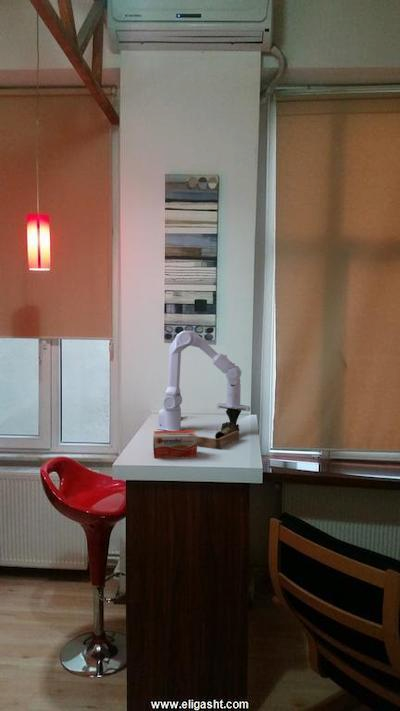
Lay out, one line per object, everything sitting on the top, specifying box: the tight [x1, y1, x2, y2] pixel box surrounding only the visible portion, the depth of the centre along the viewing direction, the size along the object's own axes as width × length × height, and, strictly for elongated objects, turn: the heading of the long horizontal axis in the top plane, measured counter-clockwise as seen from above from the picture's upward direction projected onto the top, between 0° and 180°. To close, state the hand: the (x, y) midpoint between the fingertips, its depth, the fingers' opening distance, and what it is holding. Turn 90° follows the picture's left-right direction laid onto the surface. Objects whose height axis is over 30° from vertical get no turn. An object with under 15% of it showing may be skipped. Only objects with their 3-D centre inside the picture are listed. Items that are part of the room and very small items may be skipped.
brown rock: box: [214, 421, 240, 439], centre depth 199 cm, size 18×7×6 cm, turn 156°
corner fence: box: [197, 431, 240, 450], centre depth 192 cm, size 13×18×4 cm
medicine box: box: [152, 429, 198, 459], centre depth 173 cm, size 15×8×8 cm, turn 97°
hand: (233, 426), depth 209 cm, fingers closed
